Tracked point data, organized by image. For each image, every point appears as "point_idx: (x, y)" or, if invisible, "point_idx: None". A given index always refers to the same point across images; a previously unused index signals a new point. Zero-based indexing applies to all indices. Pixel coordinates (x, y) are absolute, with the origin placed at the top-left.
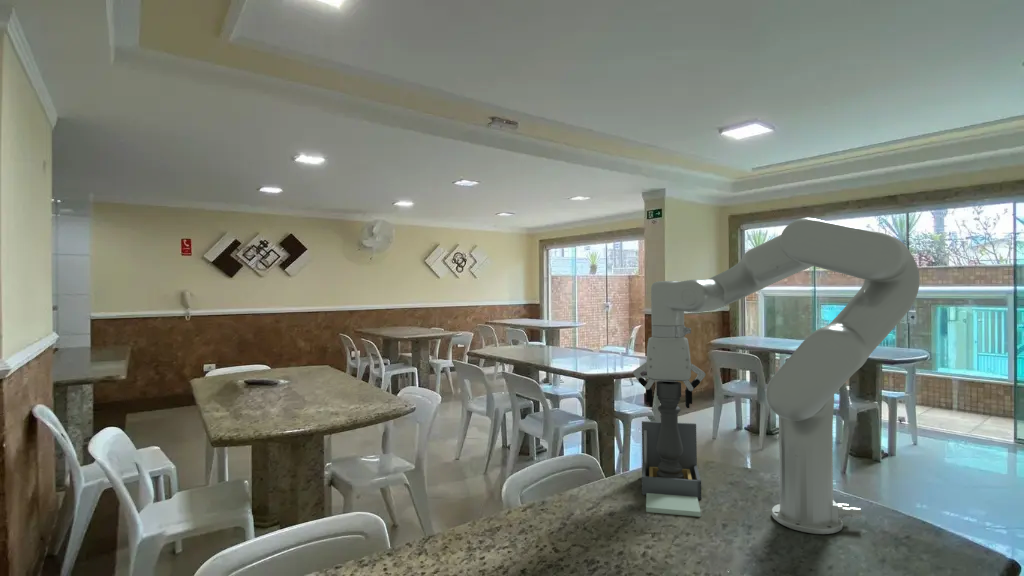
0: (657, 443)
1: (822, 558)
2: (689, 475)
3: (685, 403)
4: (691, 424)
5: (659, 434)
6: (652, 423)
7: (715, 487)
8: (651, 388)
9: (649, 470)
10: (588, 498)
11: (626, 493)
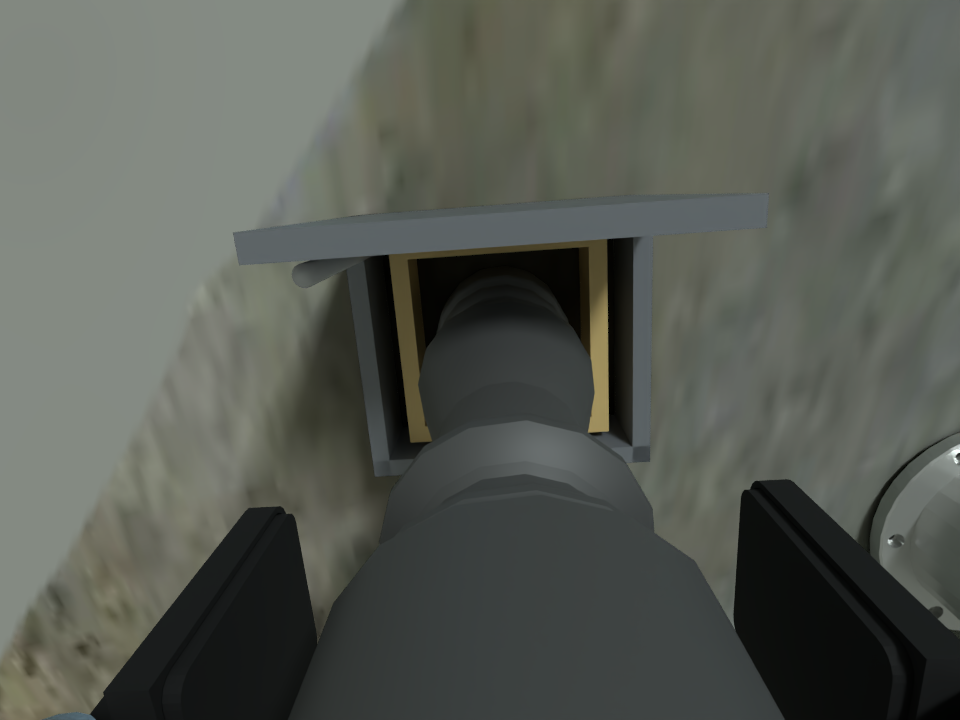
0: (424, 414)
1: None
2: (599, 327)
3: (751, 508)
4: (718, 228)
5: (432, 439)
6: (345, 255)
7: (709, 270)
8: (167, 710)
9: (395, 308)
10: (197, 528)
11: (326, 445)
